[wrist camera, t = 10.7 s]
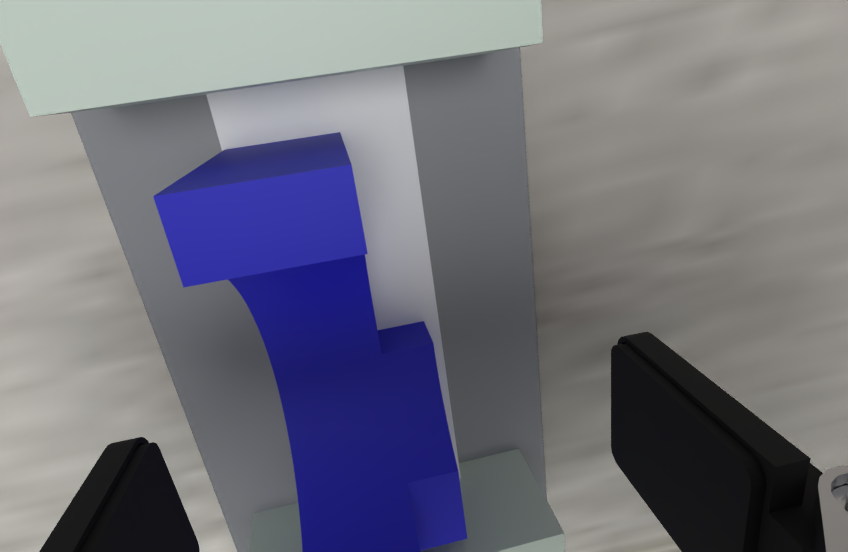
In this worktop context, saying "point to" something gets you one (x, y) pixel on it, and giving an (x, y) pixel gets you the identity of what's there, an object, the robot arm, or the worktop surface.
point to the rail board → (377, 196)
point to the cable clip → (325, 343)
